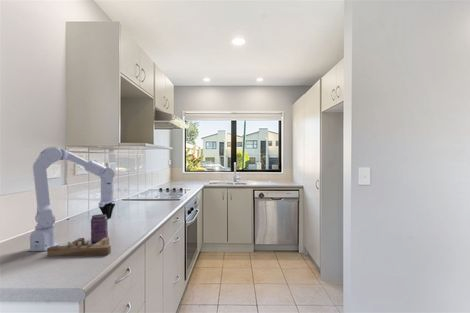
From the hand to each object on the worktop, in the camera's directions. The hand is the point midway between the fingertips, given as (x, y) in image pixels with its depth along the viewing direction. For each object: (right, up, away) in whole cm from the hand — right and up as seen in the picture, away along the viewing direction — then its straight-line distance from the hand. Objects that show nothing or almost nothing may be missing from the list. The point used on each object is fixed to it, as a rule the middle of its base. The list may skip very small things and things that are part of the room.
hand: (107, 218), depth 145 cm
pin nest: (0, -9, -21) cm, 23 cm away
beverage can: (0, -9, -9) cm, 12 cm away
